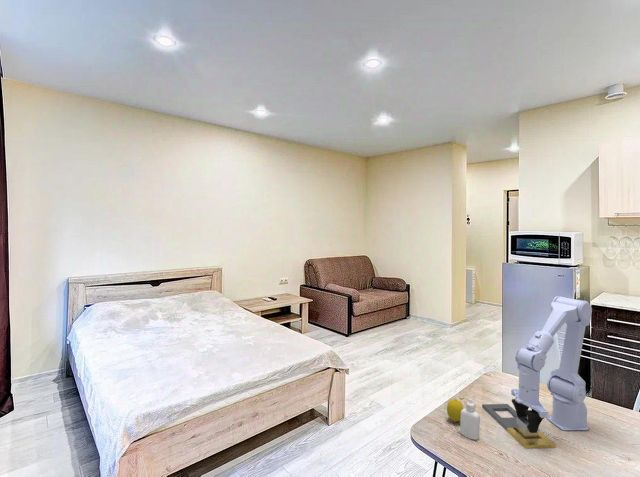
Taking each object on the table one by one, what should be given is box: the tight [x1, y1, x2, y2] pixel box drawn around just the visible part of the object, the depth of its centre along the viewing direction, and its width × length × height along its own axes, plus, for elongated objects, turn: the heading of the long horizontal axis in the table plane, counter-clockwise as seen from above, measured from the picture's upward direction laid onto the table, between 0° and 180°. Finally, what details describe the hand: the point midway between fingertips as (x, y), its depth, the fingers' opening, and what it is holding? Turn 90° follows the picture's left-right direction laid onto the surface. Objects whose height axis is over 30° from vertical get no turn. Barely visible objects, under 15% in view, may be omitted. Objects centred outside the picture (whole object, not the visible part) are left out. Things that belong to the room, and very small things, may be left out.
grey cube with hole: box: [516, 417, 540, 439], centre depth 109 cm, size 4×4×5 cm
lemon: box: [446, 398, 465, 423], centre depth 117 cm, size 6×6×8 cm
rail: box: [481, 403, 557, 449], centre depth 115 cm, size 10×24×1 cm, turn 4°
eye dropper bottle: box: [459, 398, 481, 441], centre depth 109 cm, size 4×6×12 cm
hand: (527, 427), depth 109 cm, fingers open, 5 cm apart
